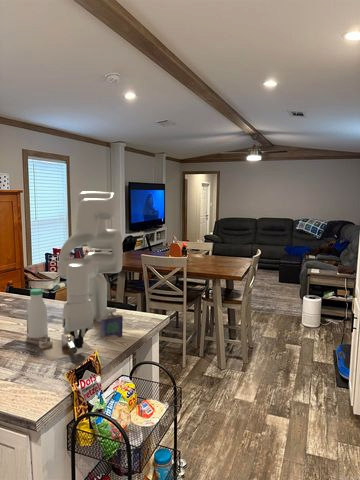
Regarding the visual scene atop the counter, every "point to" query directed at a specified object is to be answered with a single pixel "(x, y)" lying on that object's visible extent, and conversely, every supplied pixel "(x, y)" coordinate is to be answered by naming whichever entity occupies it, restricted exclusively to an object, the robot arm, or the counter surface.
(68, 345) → the crank handle
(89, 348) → the lever stand
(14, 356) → the counter surface
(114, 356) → the counter surface
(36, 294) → the milk bottle
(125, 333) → the counter surface
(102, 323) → the flask
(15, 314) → the counter surface
